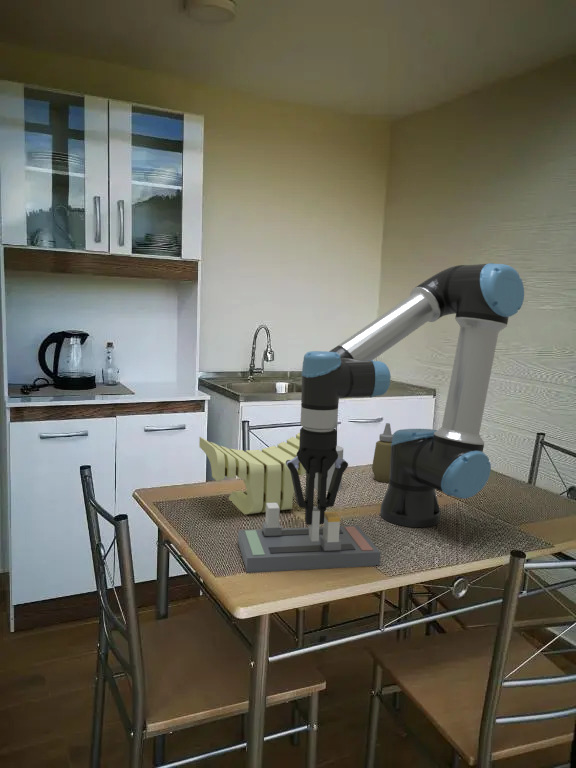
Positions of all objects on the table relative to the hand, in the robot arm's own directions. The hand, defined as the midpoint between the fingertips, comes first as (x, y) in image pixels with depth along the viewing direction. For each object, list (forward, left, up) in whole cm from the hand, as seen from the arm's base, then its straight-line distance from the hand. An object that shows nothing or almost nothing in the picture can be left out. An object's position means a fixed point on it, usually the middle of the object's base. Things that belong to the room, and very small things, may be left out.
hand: (313, 538), depth 125 cm
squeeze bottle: (-37, -56, -6) cm, 67 cm away
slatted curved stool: (+5, -36, -6) cm, 37 cm away
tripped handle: (-4, 0, -2) cm, 4 cm away
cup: (-17, -50, -6) cm, 53 cm away
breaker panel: (0, -4, -5) cm, 7 cm away
